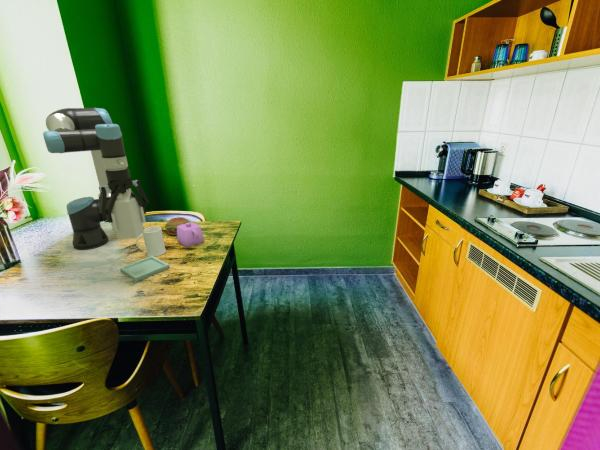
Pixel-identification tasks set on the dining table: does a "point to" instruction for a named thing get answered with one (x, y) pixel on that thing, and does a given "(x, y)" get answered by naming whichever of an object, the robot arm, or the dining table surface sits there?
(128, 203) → the milk carton
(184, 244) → the teapot
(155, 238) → the mug
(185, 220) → the food
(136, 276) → the tray
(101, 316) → the dining table surface
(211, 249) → the dining table surface
